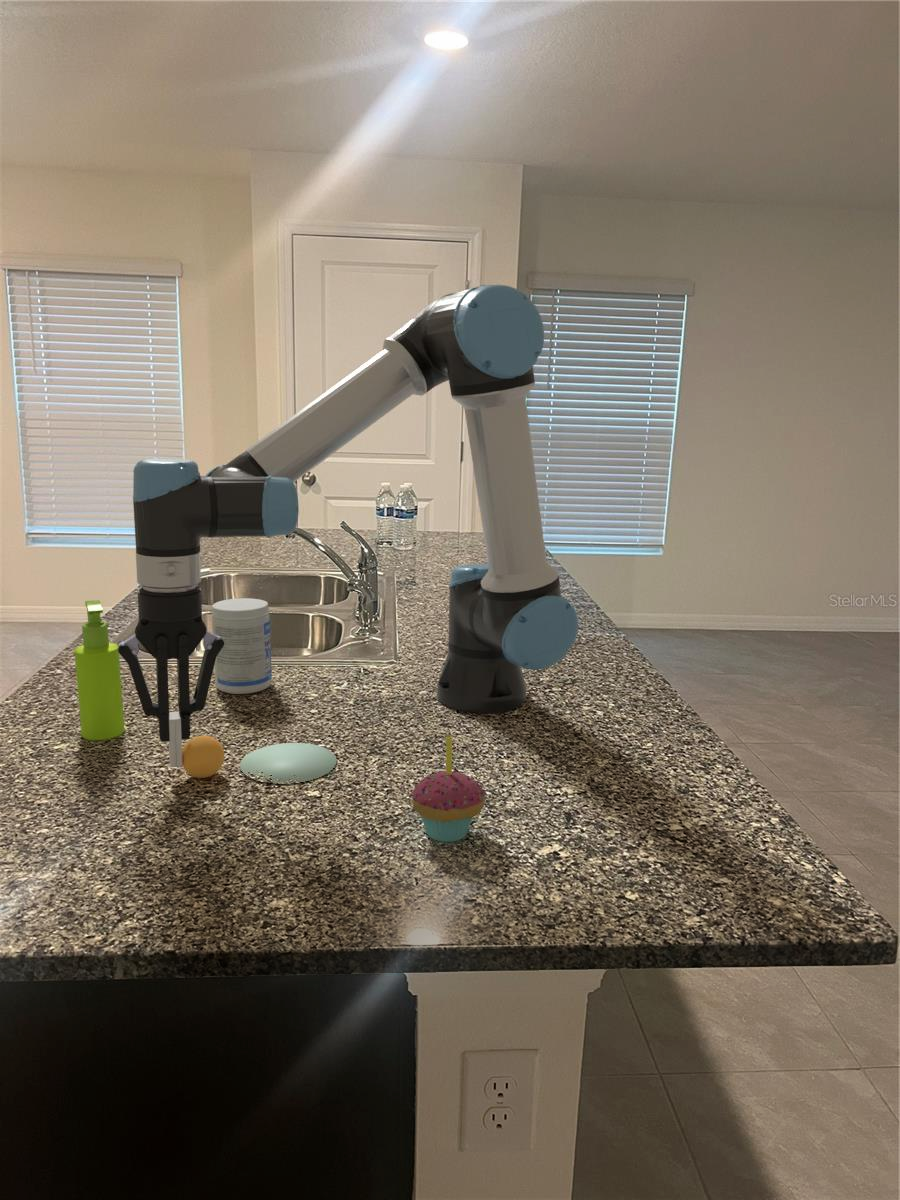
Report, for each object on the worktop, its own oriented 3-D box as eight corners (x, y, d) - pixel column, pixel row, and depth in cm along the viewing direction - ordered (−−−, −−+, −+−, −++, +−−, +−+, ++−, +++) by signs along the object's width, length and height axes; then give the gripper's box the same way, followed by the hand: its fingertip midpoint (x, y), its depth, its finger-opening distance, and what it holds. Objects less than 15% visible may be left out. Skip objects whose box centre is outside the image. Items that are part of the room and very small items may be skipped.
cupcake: (410, 815, 101) (411, 723, 99) (479, 813, 102) (482, 722, 99) (413, 852, 93) (414, 753, 90) (488, 851, 94) (492, 752, 91)
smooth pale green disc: (353, 754, 118) (353, 752, 118) (304, 792, 106) (304, 790, 106) (275, 738, 123) (275, 736, 123) (220, 773, 111) (220, 771, 111)
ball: (209, 788, 111) (239, 758, 112) (190, 784, 106) (222, 752, 107) (184, 760, 113) (214, 730, 114) (165, 754, 108) (196, 723, 108)
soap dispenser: (83, 745, 119) (72, 609, 114) (80, 728, 124) (68, 598, 120) (127, 739, 121) (118, 605, 116) (121, 722, 127) (112, 595, 122)
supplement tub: (280, 690, 143) (278, 607, 139) (226, 699, 138) (222, 613, 134) (259, 674, 151) (257, 595, 147) (207, 682, 145) (203, 600, 142)
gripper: (114, 595, 97) (123, 781, 103) (227, 590, 102) (230, 768, 108) (112, 581, 104) (121, 757, 109) (219, 577, 109) (222, 745, 114)
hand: (175, 762), depth 108 cm, fingers closed
